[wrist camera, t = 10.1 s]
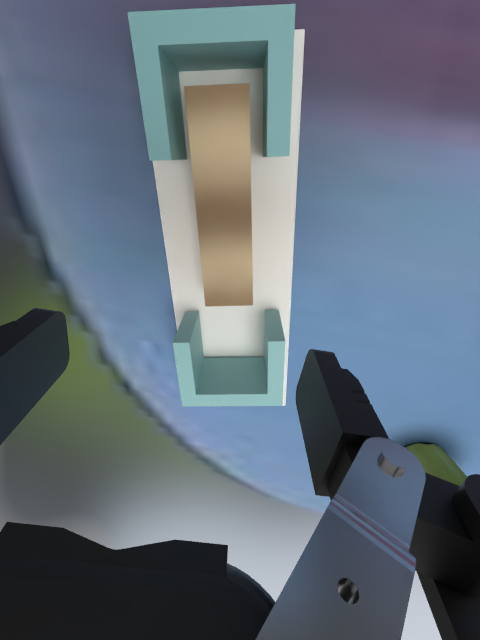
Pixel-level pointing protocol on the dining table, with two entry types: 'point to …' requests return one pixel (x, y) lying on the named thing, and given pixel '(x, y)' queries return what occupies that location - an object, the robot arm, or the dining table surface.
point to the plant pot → (437, 463)
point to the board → (267, 225)
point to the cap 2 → (229, 368)
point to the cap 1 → (212, 66)
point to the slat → (222, 189)
